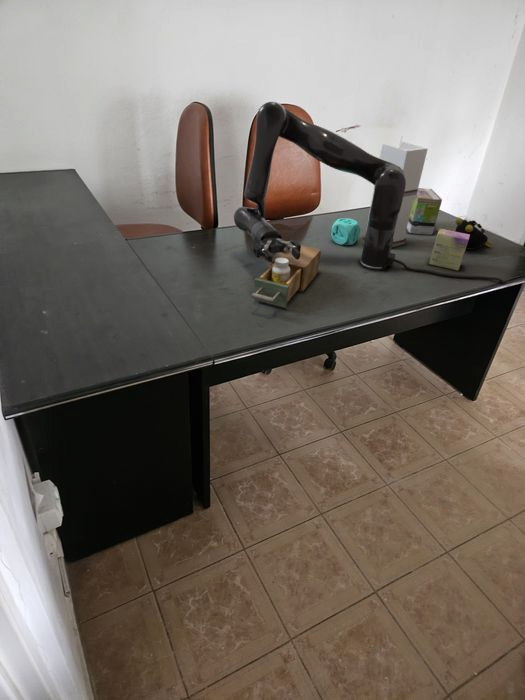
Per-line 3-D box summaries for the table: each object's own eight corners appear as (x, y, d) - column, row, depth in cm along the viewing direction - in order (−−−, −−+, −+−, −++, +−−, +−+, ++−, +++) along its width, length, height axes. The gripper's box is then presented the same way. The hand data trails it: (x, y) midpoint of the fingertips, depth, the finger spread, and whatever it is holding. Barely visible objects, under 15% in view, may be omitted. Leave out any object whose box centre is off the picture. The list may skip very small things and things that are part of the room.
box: (460, 265, 171) (470, 233, 164) (458, 271, 166) (468, 239, 159) (431, 258, 174) (439, 227, 167) (428, 264, 170) (437, 233, 163)
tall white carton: (404, 243, 185) (427, 148, 164) (385, 248, 179) (406, 151, 159) (383, 233, 192) (402, 141, 172) (364, 238, 187) (382, 143, 167)
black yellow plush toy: (484, 263, 182) (492, 234, 170) (446, 255, 188) (451, 226, 176) (494, 242, 187) (501, 213, 174) (456, 234, 193) (461, 205, 181)
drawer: (278, 316, 133) (279, 295, 129) (245, 308, 136) (246, 287, 132) (302, 287, 148) (304, 267, 144) (272, 280, 151) (273, 260, 148)
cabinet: (302, 292, 148) (305, 267, 143) (268, 283, 151) (270, 259, 146) (317, 272, 159) (321, 249, 155) (286, 265, 163) (288, 242, 158)
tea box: (433, 235, 194) (443, 199, 185) (408, 233, 193) (417, 197, 185) (423, 222, 206) (432, 187, 197) (400, 220, 206) (408, 186, 197)
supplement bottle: (291, 292, 143) (294, 263, 138) (275, 294, 141) (277, 265, 136) (283, 284, 147) (286, 255, 142) (268, 286, 145) (270, 257, 140)
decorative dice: (346, 247, 178) (350, 227, 174) (329, 241, 183) (332, 221, 178) (358, 242, 183) (361, 222, 179) (341, 236, 188) (344, 216, 183)
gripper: (285, 245, 153) (306, 267, 140) (243, 249, 149) (260, 272, 136) (287, 223, 148) (308, 243, 136) (244, 226, 144) (262, 247, 132)
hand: (284, 257), depth 136 cm, fingers open, 8 cm apart
